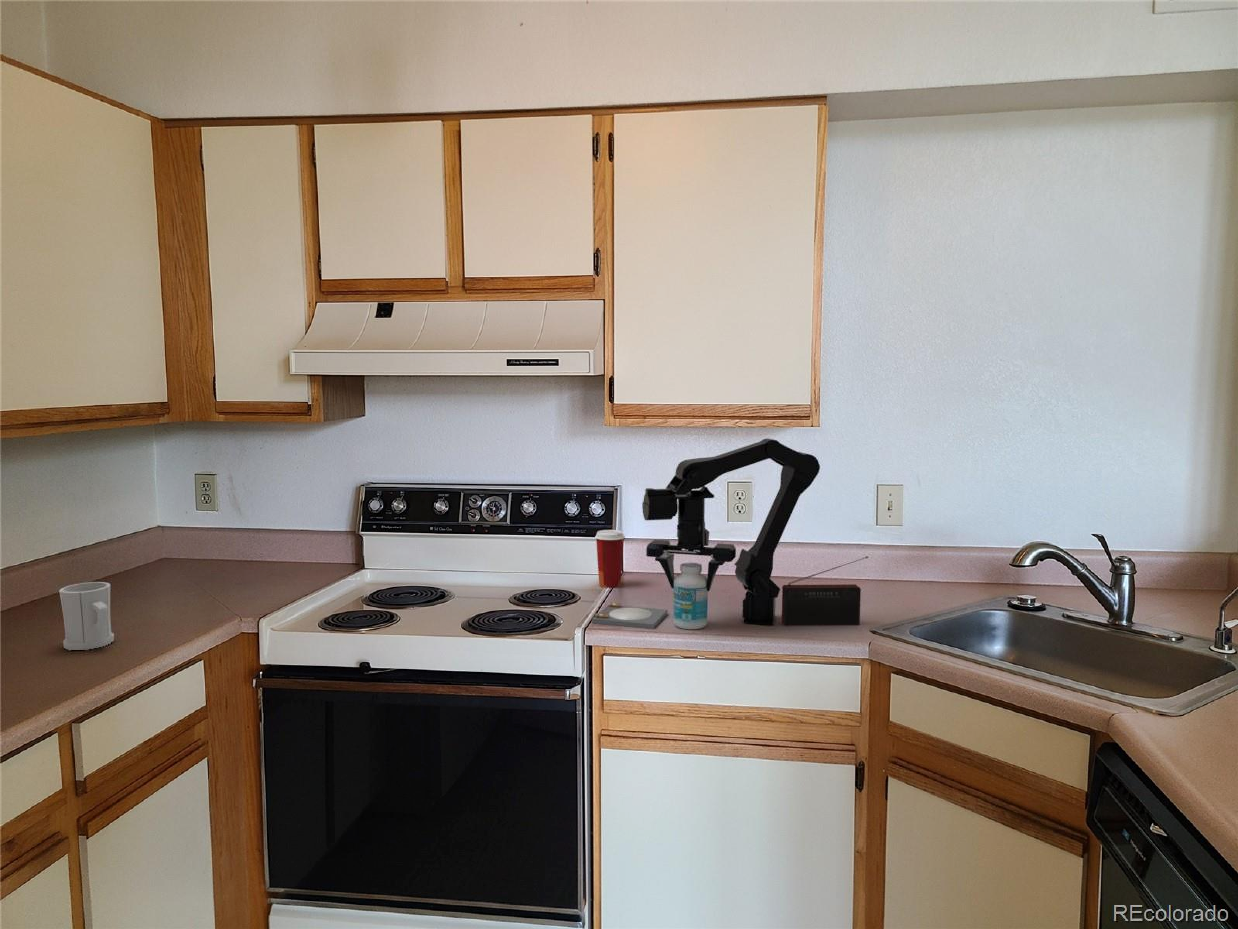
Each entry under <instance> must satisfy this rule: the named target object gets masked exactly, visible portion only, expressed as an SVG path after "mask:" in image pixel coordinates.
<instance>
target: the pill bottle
mask: <svg viewBox="0 0 1238 929" xmlns="http://www.w3.org/2000/svg"><path fill="white" fill-rule="evenodd" d="M679 570H680V572H679V573H678V574H677V575H675V576H674V588H673V608H672V609H673V610H672V612H673V616H672V617H673V619H672V621H673V625H675V627H676V628H679V629H683V630H699V629H704V627H706V626H707V624H708V599H709V598H708V595H709V594H708V593H709V591H707V576H706V575H704V574H703V573H702V572H703V571H702V570H703V565H702V564H701V563H698V562H684V563H681V564H680V566H679Z"/></svg>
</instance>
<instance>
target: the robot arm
mask: <svg viewBox="0 0 1238 929" xmlns="http://www.w3.org/2000/svg"><path fill="white" fill-rule="evenodd" d="M769 459H770V460H772V461H773V462H774V463H776V464H778V465H779V466H781V467H782V468H781V472H780V484H779V486H780V487H779V489H778V491H777V494H776V496H775V498H774V500H773V502H772V505H771V507H770V509H769V512H768V513H767V514H766V515H767V516H766V518H765V519H764V522H763V525H762V527H761V529H760V532H759V533H758V535H757V538H756V540H755V542H754V543H753V545H752V546H751V547H750V548H749V549H748V550H746V549H744V548H742V549H741V550H740V553H739V556H738V559H737V561H735V563H734V566H735V570H734V571H735V572H734V574H735V577H736V579H737V581H739V583H741V584H742V587H743V589H744V590H745V591H746V592H745V594H744V595H745V596H744V598H743V599H742V619H743V623H744V624H753V625H754V624H756V625H765V626H766V625H767V626H773V625H774V624H775V621H776V619H777V614H776V598H778V597H779V594H780V592H781V591H780V590H781V587H779V586H778V585H777V584H776V583H775V582H774V581H773V580H772V579H771V576H772V572H773V568H774V555H775V551H776V549H777V548H778V547H777V546H778V545H779V542H780V541H781V538H782V536H783V534H784V532H785V529H786V527H787V525H788V522H789V521H790V518H791V516H792V514H793V513H794V512H793V511H794V509H795V507H796V505H797V503H798V501H799V499H800V496H801V495H802V494H803V493H804V492H805V491H806V490H807V489H808V488H809V487H810V486H811V485H812V483H813V482H814V481H815V479H816V478H817V476H818V475H819V473H820V469H821V465H820V462H819V460H818V459H817V457H816V456H814V455H812V454H810V453H805V452H801V451H797V450H795V449H792V448H790V447H788V446H787V445H784V444H782V443H781V442H780V441H778V440H776V439H773V438H769V437H768V438H767V437H766V438H764V439H762V440H760V441H758V442H755V443H751V444H748V445H745V446H743V447H739V448H736V449H734V450H731V451H727V452H724V453H721V454H719V455H715V456H710V457H709V456H708V457H698V458H689V459H684V460H682V461H681V462H679V463H678V464H677V466H676V469H675V475H674V476H673V477H672V478H671V480H670V481H669V483H668V484H667V485H666V487H665V488H651V487H650V488H649V487H647V488H645V494H644V496H643V501H642V503H641V504H642V514H643V519H644V521H667V520H669V521H670V520H673V517H676V516H677V524H676V530H677V531H676V538H677V543H676V544H671V542H670V540H667V539H665V540H664V539H654V540H651V541H650V543H648V544H647V545H646V547H645V548H646V549H645V551H646V555H645V556H646V557H648V558H654V561H656V562H658V563H659V564H660V566H661V568H662V569H663V571H664V574H665V575H666V578H667V580H668V583H669V585H670V588H671V589H674V578H675V568H674V559H675V555H690V556H691V555H692V556H702V557H703V556H706V557H710V558H711V559H710V560H709V562H708V565H707V576H706V578H707V591H708V592H710V591H711V588H712V585H713V582H714V579H715V576H716V573H717V571H718V569H719V567H720V566H723V565H724V564H725V563H731V562H733V561H734V559H735V558H736V557H737V548H736V546H735V545H734V544H732V543H730V544H729V543H716V545H715V546H714V547H711V546H709V542H710V541H709V540H710V531H709V530H708V529H706V521H705V504H706V503H705V500H706V499H713V498H715V494H713V493H712V492H711V491H710V489H709V488H708V486H706V485H709V484H711V483H712V482H714V481H715V480H716V479H718V478H719V477H721V476H723V475H725V474H727V473H730V472H733V471H736V470H739V469H741V468H745V467H748V466H752V465H755V464H757V463H761V462H762V461H767V460H769Z"/></svg>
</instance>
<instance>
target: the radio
mask: <svg viewBox="0 0 1238 929" xmlns="http://www.w3.org/2000/svg"><path fill="white" fill-rule="evenodd" d="M868 558H869V556H865V557H863V558H859V559H856V560H854V561H851V562H848V563H845V564H842V565H838V566H836V567H833V568H829V569H826V570H823V571H821V572H818V573H814V574H811V575H809V576H805V577H803V578H800V579H797V580H793V581H791V582H788V584H783V585H782V587H781V590H782V591H781V593H782V594H781V623H782V624H783V626H785V627H812V626H813V627H815V626H819V627H822V626H823V627H824V626H826V627H827V626H829V627H830V626H841V627H842V626H860V623H861V621H860V620H861V598H862V597H861V590H862V589H861V587H859V586H858V585H857V584H855V583H853V584H852V583H851V584H849V583H848V584H845V583H843V584H794V583H797V582H800V581H803V580H806V579H809V578H812V577H815V576H817V575H820V574H823V573H826V572H829V571H833V570H836V569H839V568H841V567H843V566H846V565H850V564H852V563H855V562H858V561H861V560H862V561H863V560H864V559H868Z"/></svg>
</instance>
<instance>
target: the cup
mask: <svg viewBox="0 0 1238 929" xmlns="http://www.w3.org/2000/svg"><path fill="white" fill-rule="evenodd" d="M58 592H59V598H60V603H61V609H62V616H63V622H64V623H63V625H64V635H65V639H63V641H62V643H63V644H62V645H63V648H64V649H66V650H68V651H71V650H85V651H90V650H89V649H92V650H95V649H94V648H97V649H100V648H99V647H101V648H104V647H107V646H109V645H111V642H112V643H113V642H114V641H115V635H114V632H112V627H111V626H112V624H111V584H110V583H109V582H102V581H92V582H91V581H90V582H81V583H75V584H71V585H66V586H64V587H62V588H60V589H59V591H58ZM108 644H109V645H108ZM106 645H107V646H106ZM103 646H104V647H103Z"/></svg>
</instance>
